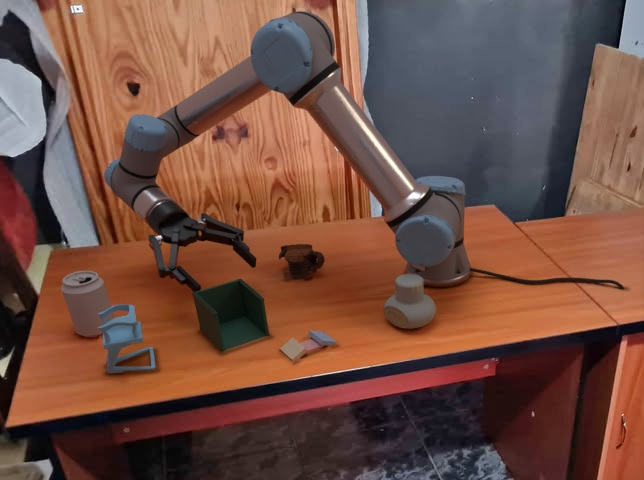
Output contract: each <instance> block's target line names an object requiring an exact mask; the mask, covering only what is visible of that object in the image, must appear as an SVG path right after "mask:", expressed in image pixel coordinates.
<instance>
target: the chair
mask: <svg viewBox="0 0 644 480" xmlns="http://www.w3.org/2000/svg"><path fill="white" fill-rule="evenodd" d="M118 311H124V312H128V314H126V315H121V316H117V317H116V316H115V318H114V319H112V320H111V321H109V322H108V321H107V319H106V318H105V317H106V316H107V315H108V314H110V313H112V312H113V313H114V312H118ZM98 315H99V316H100V317H101V319H102V320H103V322H104V325H102V326H100V327H98V329H99V330H100V331H101V332H102V333H103V334H102V346H103V349H104V350H107V355H106V374H108V375H110V374H111V375H112V374H124V372H132V371H134V372H137V371H153V370H155V369H156V368H157V366H156V359H155V352H154V347H153V346H147V347H143V348H141V349H138V350H135V351H132V352H130V353H127V354H124V355H121V356H119V353H120V352H121V350H123V349H124V348H126V347H129V346H131V345H136V344H142V343H144V338H143V329H142V327H143V326H142V323H141V321H140V320H137V316H136V315H137V314H136V305H133V304H124V303H123V304H114V305H111V307H110V308H108V309H106V310H105V311H103V312H100V313H98ZM146 352H149V357H150V365H123V366H122V365H121V366H120V365H119V366H117V365H118V363H120V362H123V361H125V360H128V359H130V358H133V357H136V356H139V355H141V354H144V353H146Z"/></svg>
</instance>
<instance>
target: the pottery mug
mask: <svg viewBox="0 0 644 480" xmlns="http://www.w3.org/2000/svg"><path fill="white" fill-rule="evenodd" d="M280 250H281V251H280V252H279V254H278V257H277V258H278V260H282V258H284V260H285V261H286V262H287V265H288V269H287V270H285V269H284V270H283V271H282V273H283V276H284V278H285V279H287V280H290V281H291V280H297V281H298V280H310V275H311V273H312V274H313V275H315V274H316V273H317V272H318V270H321V269H322V267H324V263H325V261H326V260H325V256H324V255H323V253H322V252H321V251H317V250H313V245H312V244H311V243H295V244H286V245H282V246H280Z"/></svg>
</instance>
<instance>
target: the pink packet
mask: <svg viewBox="0 0 644 480" xmlns="http://www.w3.org/2000/svg"><path fill="white" fill-rule="evenodd" d="M299 343H300V344H301V345H302V346H304V347H305V348H306V349H307V352H306V353H305V354H308V353H311V352H314V351H316V350H319V349H322V348H324V347H325V345H321V344H319V343H318V342H317V341H315V340H314V339H313V338H312V337H311V338H309V339H307V340H304V341H302V342H299ZM305 354H304V355H305Z"/></svg>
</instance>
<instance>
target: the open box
mask: <svg viewBox="0 0 644 480" xmlns="http://www.w3.org/2000/svg"><path fill="white" fill-rule="evenodd" d="M191 295H192V297H193V302H194V306H195V311H196V315H197V320H198V325H199V329H200V331H201V332H202V333H203V334H204V335H205V336H206V337H207V338H208V339H209V340H210V341H211V342H212V343H213V344H214V345H215V347H216V348H218V350H219V351H220V352H221V353H223V352H225V351H228V350H232V349H234V348H237V347H239V346H242V345H246V344H248V343H252V342H254V341H257V340H260V339H263V338H266V337H269V336H270V331H269V325H268V324H269V323H268V317H267V312H266V304H265V297H263V296H262V295H261V294H260V293H259V292H257V290H255V289H254V288H253V287H252V286H251V285H250V284H248V283H247V282H246V281H244V280H243V279H242V278H238V279H234V280H231V281H227V282H225V283H221V284H216V285H214V286H209V287H207V288H203V289H201V290H199V291H196V292H193V291H192V292H191Z"/></svg>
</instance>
